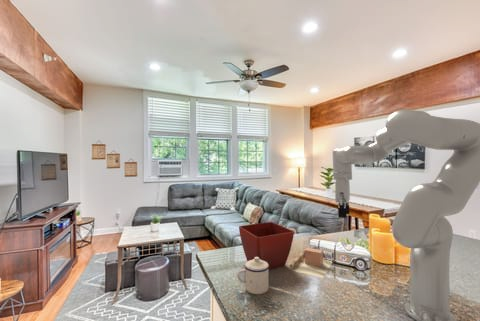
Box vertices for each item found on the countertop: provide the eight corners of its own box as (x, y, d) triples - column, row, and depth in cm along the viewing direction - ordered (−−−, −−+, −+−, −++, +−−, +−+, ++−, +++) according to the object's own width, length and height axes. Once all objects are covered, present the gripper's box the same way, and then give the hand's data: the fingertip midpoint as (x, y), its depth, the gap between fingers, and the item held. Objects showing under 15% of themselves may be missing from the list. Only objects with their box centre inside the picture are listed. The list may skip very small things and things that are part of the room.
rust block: (305, 263, 111) (304, 250, 111) (307, 260, 114) (307, 247, 114) (320, 266, 107) (320, 253, 107) (322, 263, 110) (322, 250, 110)
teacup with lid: (266, 281, 96) (266, 252, 96) (271, 294, 87) (271, 262, 87) (236, 283, 95) (236, 253, 95) (238, 296, 86) (237, 263, 86)
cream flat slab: (323, 280, 97) (323, 272, 97) (289, 271, 104) (289, 264, 104) (333, 261, 115) (333, 255, 115) (304, 255, 122) (304, 249, 122)
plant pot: (295, 269, 107) (295, 231, 107) (258, 278, 99) (257, 237, 99) (271, 254, 124) (271, 221, 124) (238, 261, 116) (237, 226, 116)
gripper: (336, 175, 116) (338, 211, 115) (330, 177, 101) (331, 218, 100) (353, 175, 112) (355, 212, 111) (349, 177, 97) (351, 220, 96)
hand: (344, 215), depth 106 cm, fingers open, 9 cm apart
